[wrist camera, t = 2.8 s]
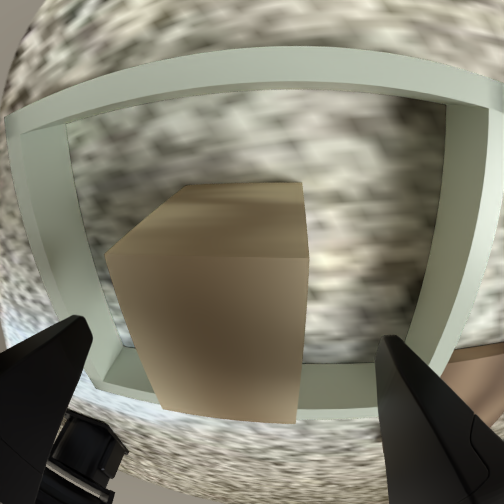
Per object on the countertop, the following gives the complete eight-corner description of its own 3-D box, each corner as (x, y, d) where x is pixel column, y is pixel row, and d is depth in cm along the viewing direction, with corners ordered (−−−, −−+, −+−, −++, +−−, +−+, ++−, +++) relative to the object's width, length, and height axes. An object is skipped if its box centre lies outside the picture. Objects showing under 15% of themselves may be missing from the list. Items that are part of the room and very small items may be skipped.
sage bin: (115, 355, 17) (95, 388, 14) (49, 108, 10) (4, 117, 8) (408, 371, 15) (419, 412, 12) (465, 85, 8) (509, 85, 5)
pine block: (204, 307, 14) (162, 409, 9) (186, 184, 12) (104, 254, 6) (298, 311, 14) (295, 423, 8) (302, 182, 11) (309, 258, 6)
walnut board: (382, 442, 19) (383, 452, 18) (430, 352, 14) (435, 365, 13) (485, 421, 17) (488, 429, 16) (545, 333, 12) (551, 341, 11)
